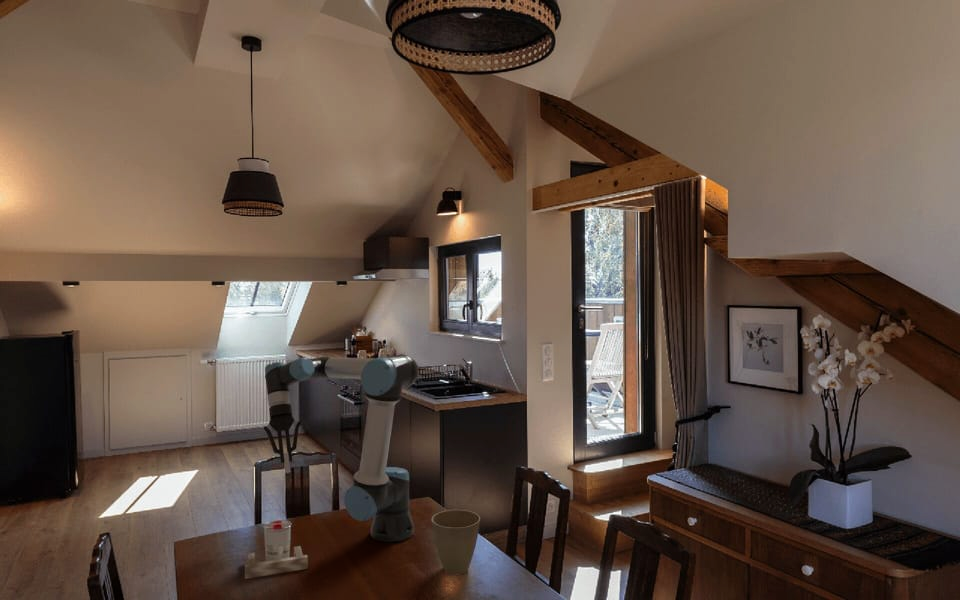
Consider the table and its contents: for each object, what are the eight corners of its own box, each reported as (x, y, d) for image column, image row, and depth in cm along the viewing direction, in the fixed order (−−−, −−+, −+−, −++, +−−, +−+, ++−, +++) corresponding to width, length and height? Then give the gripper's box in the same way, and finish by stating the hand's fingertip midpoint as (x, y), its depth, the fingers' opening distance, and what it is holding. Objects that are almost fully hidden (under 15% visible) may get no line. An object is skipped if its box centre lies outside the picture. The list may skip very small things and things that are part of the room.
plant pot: (425, 564, 193) (425, 513, 193) (469, 556, 199) (469, 507, 199) (441, 584, 179) (441, 530, 179) (487, 575, 185) (487, 522, 185)
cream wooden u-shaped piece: (303, 554, 200) (303, 543, 200) (307, 568, 190) (307, 557, 190) (244, 563, 193) (244, 552, 193) (245, 578, 183) (245, 567, 183)
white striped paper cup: (296, 556, 198) (296, 519, 198) (290, 568, 190) (290, 529, 190) (265, 557, 198) (265, 520, 198) (257, 569, 189) (257, 530, 189)
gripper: (297, 405, 226) (306, 470, 219) (260, 410, 221) (267, 477, 213) (299, 400, 220) (308, 467, 212) (261, 405, 215) (268, 474, 207)
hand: (287, 472), depth 213 cm, fingers closed
